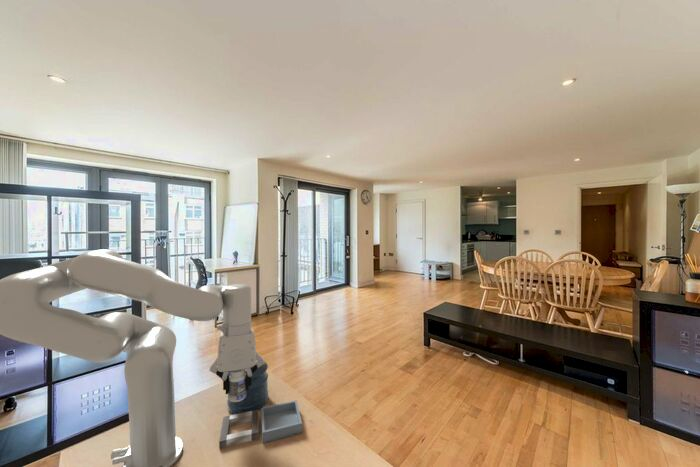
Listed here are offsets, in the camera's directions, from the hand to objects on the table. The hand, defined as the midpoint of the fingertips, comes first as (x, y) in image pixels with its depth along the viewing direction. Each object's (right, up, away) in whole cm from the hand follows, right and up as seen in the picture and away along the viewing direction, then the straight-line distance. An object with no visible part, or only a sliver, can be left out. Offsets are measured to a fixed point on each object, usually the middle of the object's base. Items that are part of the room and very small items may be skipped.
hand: (237, 389), depth 80 cm
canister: (-2, -12, +13) cm, 18 cm away
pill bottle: (0, -3, 0) cm, 3 cm away
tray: (+12, -12, +3) cm, 17 cm away
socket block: (+1, -13, +1) cm, 13 cm away
